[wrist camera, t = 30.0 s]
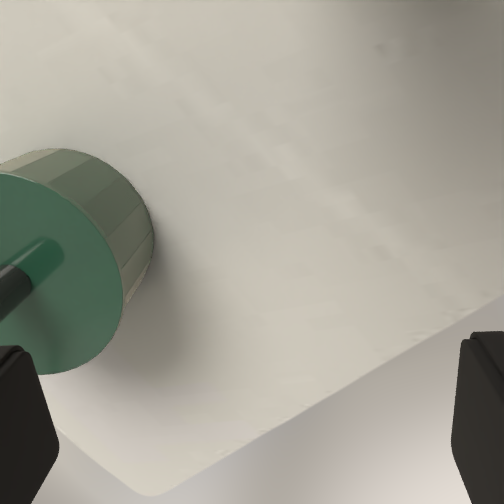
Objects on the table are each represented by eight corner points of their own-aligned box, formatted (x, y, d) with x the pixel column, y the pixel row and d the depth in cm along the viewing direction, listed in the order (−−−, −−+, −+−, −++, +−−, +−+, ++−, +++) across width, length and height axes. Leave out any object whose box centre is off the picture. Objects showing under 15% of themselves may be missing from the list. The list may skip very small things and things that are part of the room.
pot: (-34, 154, 38) (-122, 183, 30) (138, 142, 37) (94, 168, 29) (15, 307, 44) (-48, 366, 36) (166, 301, 42) (136, 362, 34)
